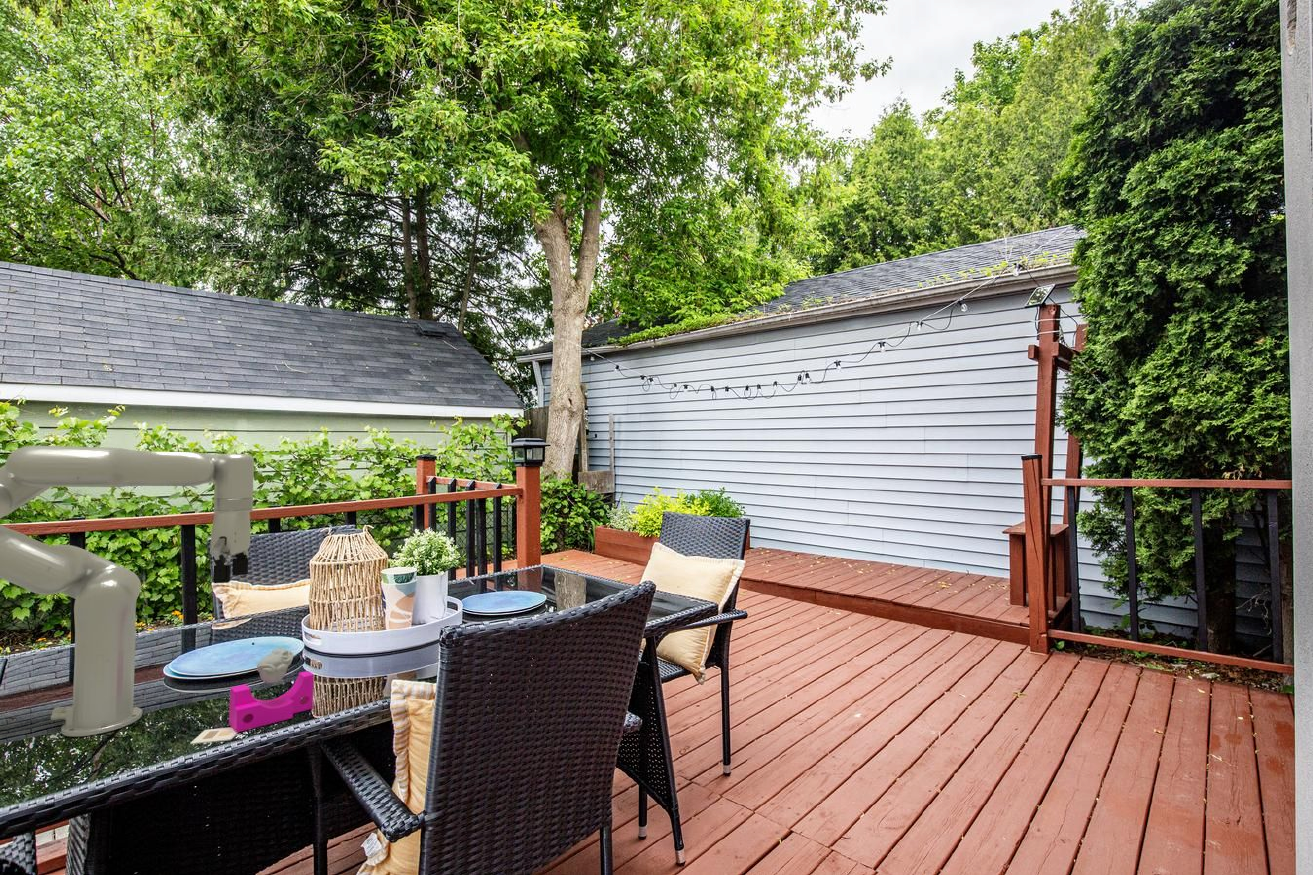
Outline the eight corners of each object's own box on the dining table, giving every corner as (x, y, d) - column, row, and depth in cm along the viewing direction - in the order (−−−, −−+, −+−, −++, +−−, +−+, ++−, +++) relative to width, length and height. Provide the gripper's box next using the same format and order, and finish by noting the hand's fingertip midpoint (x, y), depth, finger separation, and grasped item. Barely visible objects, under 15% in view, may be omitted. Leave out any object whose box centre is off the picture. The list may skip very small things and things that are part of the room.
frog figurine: (297, 680, 132) (299, 648, 132) (262, 689, 126) (264, 656, 126) (285, 674, 135) (286, 643, 136) (250, 683, 129) (251, 651, 130)
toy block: (236, 732, 122) (237, 695, 123) (228, 723, 127) (230, 687, 127) (316, 711, 133) (317, 677, 134) (307, 703, 138) (308, 670, 138)
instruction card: (190, 744, 118) (190, 742, 118) (204, 730, 124) (204, 729, 124) (230, 739, 120) (230, 738, 120) (243, 727, 126) (243, 725, 126)
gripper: (231, 503, 149) (229, 572, 148) (196, 509, 132) (194, 586, 131) (265, 503, 151) (263, 571, 150) (235, 508, 134) (233, 585, 133)
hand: (231, 578), depth 141 cm, fingers open, 9 cm apart
